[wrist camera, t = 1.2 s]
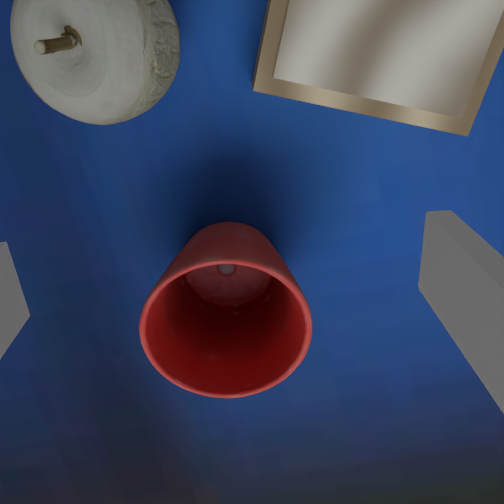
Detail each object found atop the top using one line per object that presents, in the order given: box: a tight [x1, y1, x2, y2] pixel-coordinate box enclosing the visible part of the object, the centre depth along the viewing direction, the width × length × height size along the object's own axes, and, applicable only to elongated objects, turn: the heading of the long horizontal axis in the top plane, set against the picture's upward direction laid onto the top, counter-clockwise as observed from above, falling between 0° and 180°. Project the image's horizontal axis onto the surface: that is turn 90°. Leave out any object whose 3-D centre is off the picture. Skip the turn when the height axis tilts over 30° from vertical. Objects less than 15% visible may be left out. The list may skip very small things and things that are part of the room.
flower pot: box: [139, 222, 312, 398], centre depth 34 cm, size 11×11×10 cm
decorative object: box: [10, 0, 180, 125], centre depth 27 cm, size 9×9×10 cm
